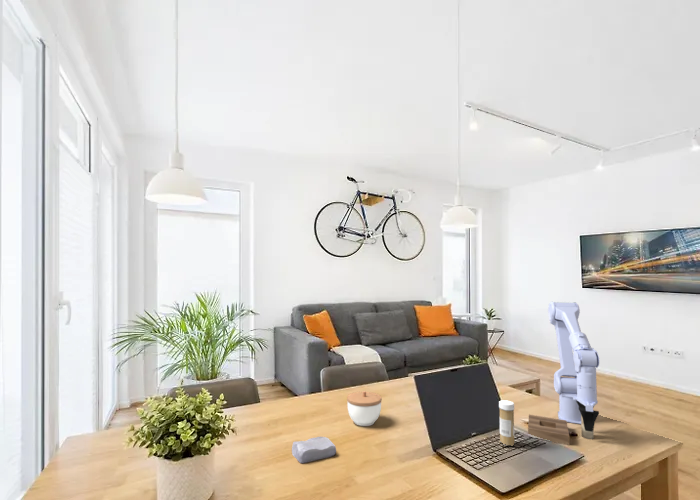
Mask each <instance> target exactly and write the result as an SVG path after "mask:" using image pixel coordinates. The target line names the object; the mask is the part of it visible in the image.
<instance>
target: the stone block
mask: <svg viewBox="0 0 700 500" xmlns="http://www.w3.org/2000/svg"><path fill="white" fill-rule="evenodd" d="M336 453H337V447H336V445H335V444H334V443H333V442H332V440H330V438H328V437H326V436H317V437H310V438H308V439H307V440H299V441H298V440H297V441H293V442H292V446H291V454H292V456H293V457H294V458H295V459H296V461H298V462H299V464H306V463H310V462H316V461H319V460H323V459H327V458H331V457H334V456H335V455H336Z"/></svg>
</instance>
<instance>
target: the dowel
mask: <svg viewBox="0 0 700 500" xmlns="http://www.w3.org/2000/svg"><path fill="white" fill-rule="evenodd" d="M580 425H581V426H580V428H581V437H582V438H584V439H587V440H594V438H595V435H594V434H595V432H594V429H593V432H591V431H585V428H584V423H583V418H582V415H581V424H580Z"/></svg>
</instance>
